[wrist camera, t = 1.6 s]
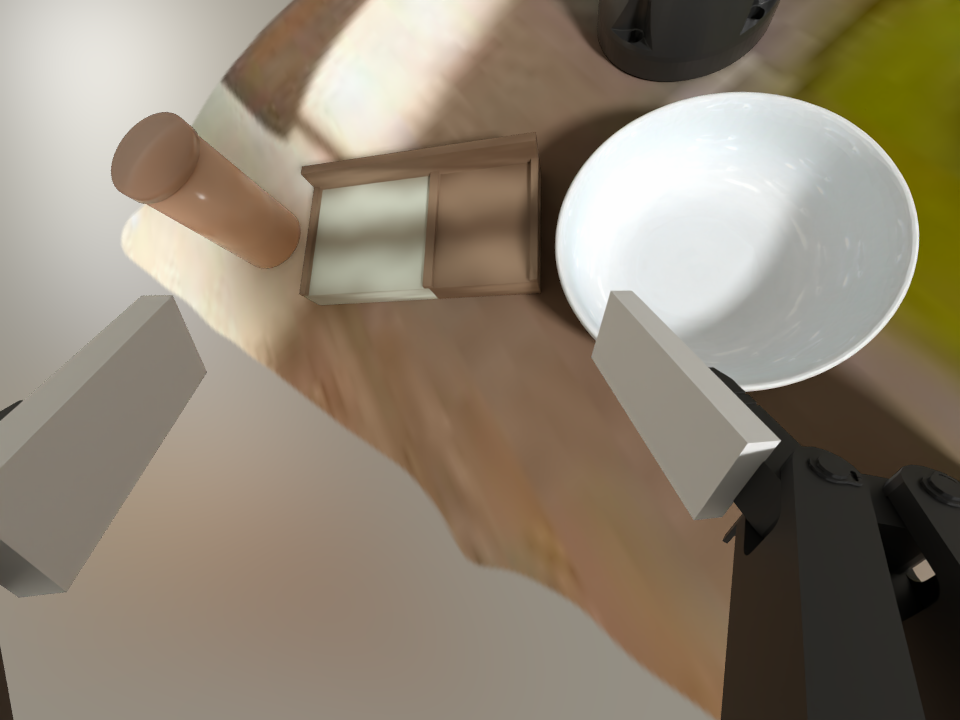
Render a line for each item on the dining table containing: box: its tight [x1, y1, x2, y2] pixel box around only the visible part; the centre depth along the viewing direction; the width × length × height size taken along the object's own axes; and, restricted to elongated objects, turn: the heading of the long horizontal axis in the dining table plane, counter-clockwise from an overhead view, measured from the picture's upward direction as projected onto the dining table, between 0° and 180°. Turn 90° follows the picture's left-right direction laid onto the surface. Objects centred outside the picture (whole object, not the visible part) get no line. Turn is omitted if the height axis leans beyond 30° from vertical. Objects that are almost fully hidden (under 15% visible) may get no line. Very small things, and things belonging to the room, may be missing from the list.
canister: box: [111, 112, 300, 268], centre depth 37 cm, size 7×7×13 cm
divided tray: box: [299, 132, 541, 305], centre depth 36 cm, size 12×22×5 cm, turn 88°
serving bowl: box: [555, 92, 919, 392], centre depth 28 cm, size 21×21×7 cm
